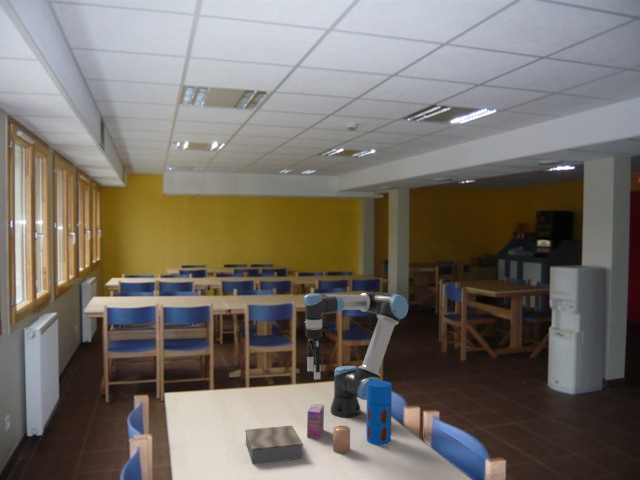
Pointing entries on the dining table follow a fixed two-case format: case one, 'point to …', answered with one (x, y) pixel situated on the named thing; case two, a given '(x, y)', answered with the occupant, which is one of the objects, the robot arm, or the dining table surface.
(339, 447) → the tan rounded cylinder
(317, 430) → the box
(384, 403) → the thermos
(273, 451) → the podium
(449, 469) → the dining table surface
